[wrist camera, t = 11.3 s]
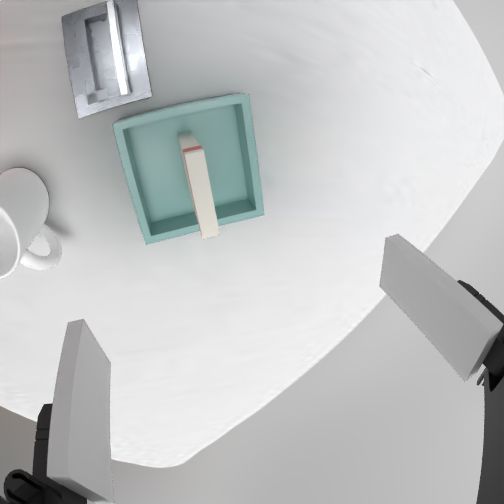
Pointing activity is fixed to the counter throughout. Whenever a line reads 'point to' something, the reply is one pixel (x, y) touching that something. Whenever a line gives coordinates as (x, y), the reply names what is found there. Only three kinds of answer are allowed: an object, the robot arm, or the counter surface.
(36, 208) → the mug
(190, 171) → the cream red-striped panel
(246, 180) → the tray
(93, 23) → the metal rectangular holder
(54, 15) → the counter surface
